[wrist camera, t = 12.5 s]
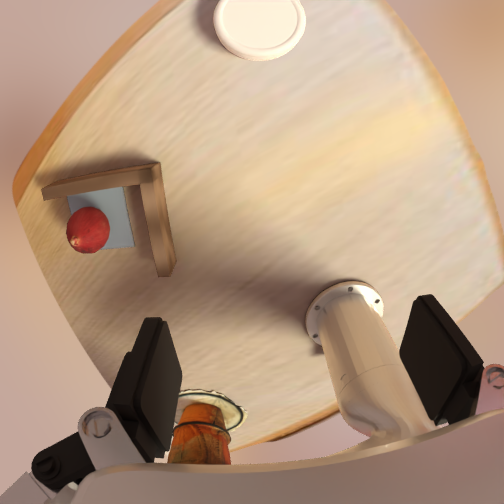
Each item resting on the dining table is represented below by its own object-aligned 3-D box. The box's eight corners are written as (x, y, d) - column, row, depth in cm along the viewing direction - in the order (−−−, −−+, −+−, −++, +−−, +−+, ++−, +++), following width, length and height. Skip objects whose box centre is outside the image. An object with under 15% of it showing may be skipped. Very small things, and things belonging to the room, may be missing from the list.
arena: (176, 261, 41) (170, 276, 37) (79, 267, 41) (67, 281, 38) (160, 162, 35) (150, 168, 31) (56, 181, 35) (41, 189, 32)
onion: (122, 238, 39) (98, 266, 32) (87, 240, 39) (60, 267, 32) (114, 197, 36) (87, 218, 29) (78, 201, 36) (48, 222, 29)
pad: (135, 245, 40) (134, 246, 40) (81, 250, 40) (81, 251, 40) (122, 182, 36) (121, 182, 36) (67, 191, 36) (66, 192, 36)
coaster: (273, -21, 25) (275, -32, 22) (316, 40, 29) (323, 34, 26) (200, 14, 27) (195, 5, 24) (243, 76, 31) (243, 72, 28)
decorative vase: (204, 365, 49) (195, 523, 25) (272, 418, 59) (285, 536, 35) (128, 396, 54) (102, 517, 30) (199, 440, 64) (195, 541, 39)
